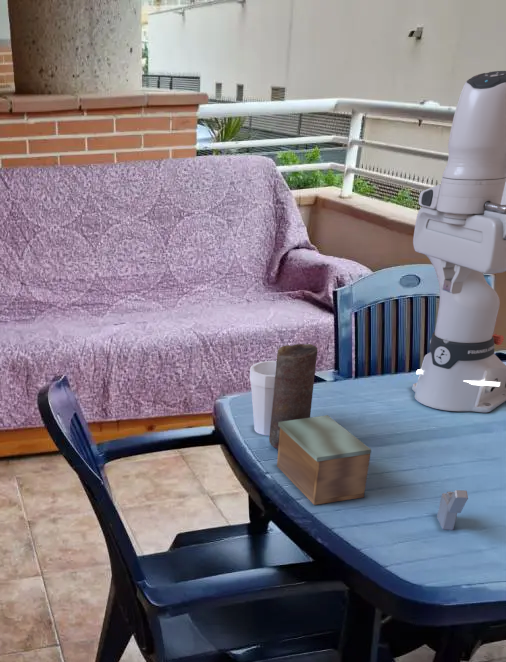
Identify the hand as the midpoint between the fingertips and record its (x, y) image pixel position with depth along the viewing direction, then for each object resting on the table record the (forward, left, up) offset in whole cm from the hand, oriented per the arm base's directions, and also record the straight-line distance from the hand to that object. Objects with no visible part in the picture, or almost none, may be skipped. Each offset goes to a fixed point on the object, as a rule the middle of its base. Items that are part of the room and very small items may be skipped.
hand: (450, 291), depth 120 cm
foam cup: (+9, -29, -32) cm, 44 cm away
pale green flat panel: (+18, -7, -23) cm, 30 cm away
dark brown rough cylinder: (+12, -20, -32) cm, 40 cm away
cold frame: (+18, -7, -31) cm, 37 cm away
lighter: (+14, +17, -32) cm, 38 cm away
